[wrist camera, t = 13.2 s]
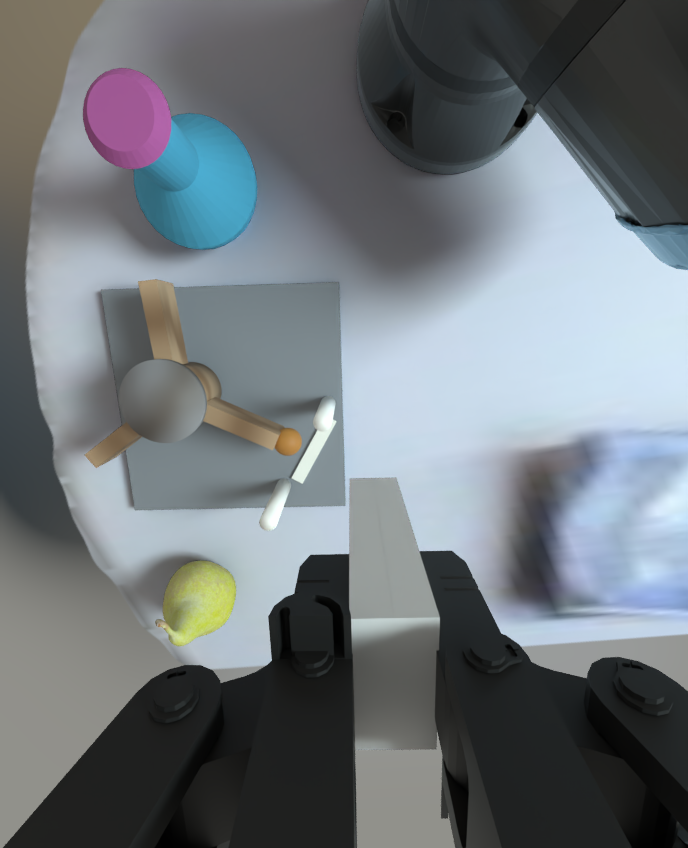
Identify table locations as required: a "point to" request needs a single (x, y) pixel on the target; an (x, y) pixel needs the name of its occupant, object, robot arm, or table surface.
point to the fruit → (197, 601)
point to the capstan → (179, 392)
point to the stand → (244, 397)
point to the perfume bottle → (172, 160)
